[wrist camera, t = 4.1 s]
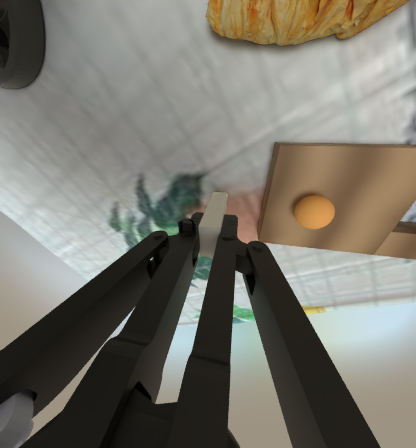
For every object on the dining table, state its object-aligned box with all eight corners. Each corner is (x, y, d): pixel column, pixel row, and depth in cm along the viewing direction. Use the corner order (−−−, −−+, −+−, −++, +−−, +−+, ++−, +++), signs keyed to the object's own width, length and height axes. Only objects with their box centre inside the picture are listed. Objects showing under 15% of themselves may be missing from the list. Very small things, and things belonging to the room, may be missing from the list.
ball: (287, 216, 18) (294, 233, 15) (295, 189, 16) (306, 202, 13) (318, 219, 17) (332, 237, 14) (331, 191, 15) (349, 205, 13)
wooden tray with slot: (257, 230, 22) (260, 252, 18) (275, 142, 16) (284, 148, 12) (429, 248, 19) (474, 278, 15) (530, 146, 13) (644, 156, 9)
